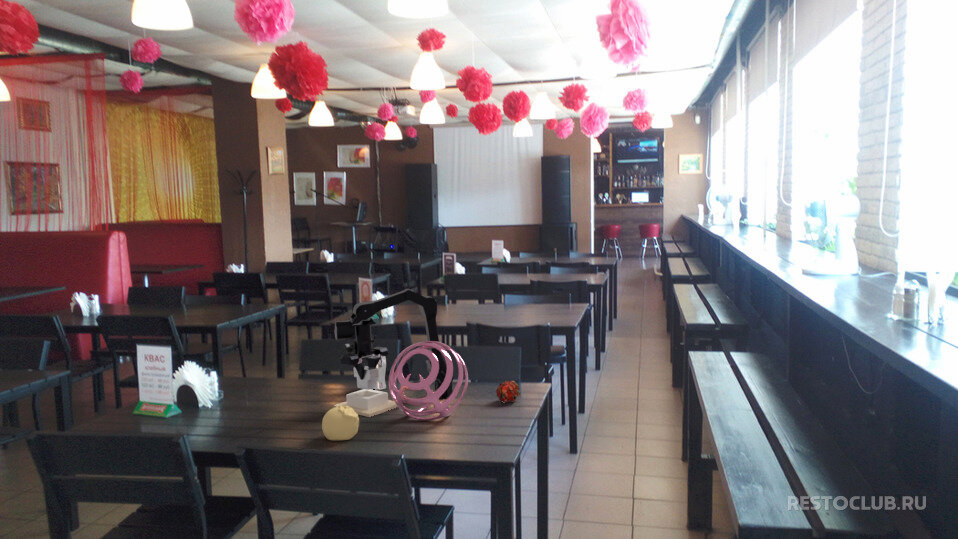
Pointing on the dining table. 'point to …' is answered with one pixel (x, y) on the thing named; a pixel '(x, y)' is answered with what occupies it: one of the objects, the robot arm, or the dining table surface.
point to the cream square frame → (368, 402)
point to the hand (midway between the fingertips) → (366, 378)
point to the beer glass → (381, 373)
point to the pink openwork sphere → (427, 382)
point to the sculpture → (340, 423)
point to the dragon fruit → (508, 391)
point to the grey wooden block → (367, 378)
